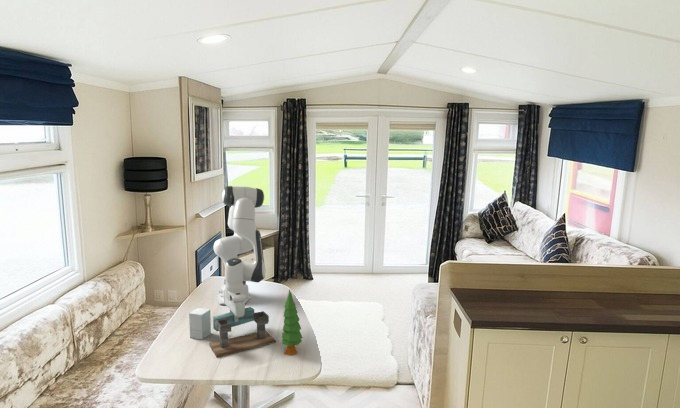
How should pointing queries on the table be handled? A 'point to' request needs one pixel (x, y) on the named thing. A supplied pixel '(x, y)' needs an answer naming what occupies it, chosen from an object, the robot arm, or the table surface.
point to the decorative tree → (291, 327)
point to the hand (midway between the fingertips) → (234, 319)
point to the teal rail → (230, 316)
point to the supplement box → (200, 323)
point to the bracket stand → (241, 337)
